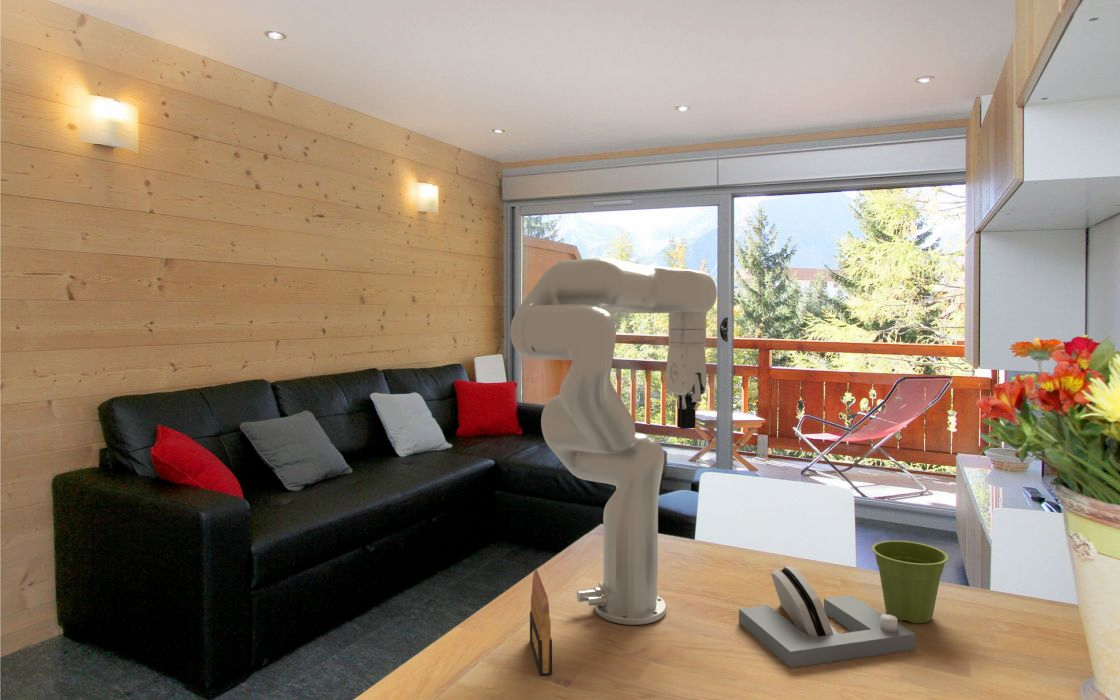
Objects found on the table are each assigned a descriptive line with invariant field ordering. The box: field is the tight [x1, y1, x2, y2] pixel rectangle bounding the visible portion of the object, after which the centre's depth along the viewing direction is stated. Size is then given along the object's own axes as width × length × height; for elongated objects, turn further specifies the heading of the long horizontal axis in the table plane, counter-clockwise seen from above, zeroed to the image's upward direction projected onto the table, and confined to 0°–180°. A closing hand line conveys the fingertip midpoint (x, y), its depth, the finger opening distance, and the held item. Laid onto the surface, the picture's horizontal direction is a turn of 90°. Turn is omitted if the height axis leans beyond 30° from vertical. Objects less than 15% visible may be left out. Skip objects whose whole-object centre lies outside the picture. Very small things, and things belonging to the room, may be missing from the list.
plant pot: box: [871, 540, 949, 624], centre depth 117 cm, size 12×12×11 cm
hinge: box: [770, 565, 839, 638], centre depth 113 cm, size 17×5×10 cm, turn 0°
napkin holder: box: [529, 569, 553, 676], centre depth 103 cm, size 11×2×12 cm, turn 10°
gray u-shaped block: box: [738, 594, 916, 669], centre depth 110 cm, size 22×15×4 cm
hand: (686, 427), depth 138 cm, fingers closed
